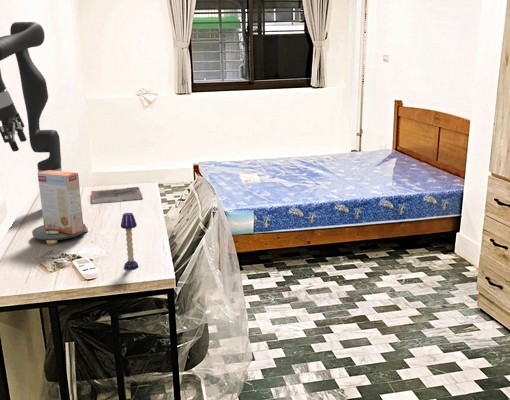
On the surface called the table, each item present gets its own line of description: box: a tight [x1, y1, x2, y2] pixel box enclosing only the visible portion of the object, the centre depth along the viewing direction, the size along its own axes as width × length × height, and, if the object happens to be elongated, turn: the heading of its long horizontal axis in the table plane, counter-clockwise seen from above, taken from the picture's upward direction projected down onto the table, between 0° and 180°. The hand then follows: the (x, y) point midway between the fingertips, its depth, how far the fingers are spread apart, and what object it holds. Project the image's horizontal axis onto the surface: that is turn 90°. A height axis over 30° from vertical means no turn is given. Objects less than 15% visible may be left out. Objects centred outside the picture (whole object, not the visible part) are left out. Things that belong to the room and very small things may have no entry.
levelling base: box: [31, 223, 89, 246], centre depth 194 cm, size 19×18×4 cm
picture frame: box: [90, 186, 143, 205], centre depth 248 cm, size 16×2×22 cm
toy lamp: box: [120, 212, 139, 270], centre depth 163 cm, size 5×5×17 cm
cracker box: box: [37, 170, 84, 235], centre depth 190 cm, size 14×6×21 cm, turn 61°
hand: (20, 145), depth 198 cm, fingers open, 8 cm apart
